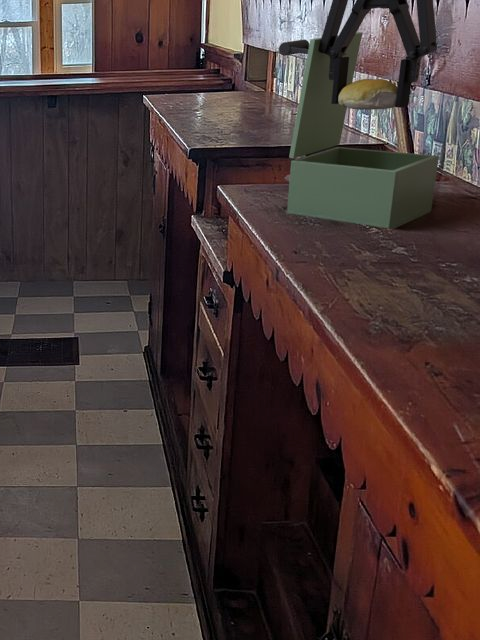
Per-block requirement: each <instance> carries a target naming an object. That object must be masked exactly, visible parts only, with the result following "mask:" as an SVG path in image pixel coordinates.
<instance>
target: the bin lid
mask: <svg viewBox="0 0 480 640" xmlns="http://www.w3.org/2000/svg"><path fill="white" fill-rule="evenodd" d="M338 36H339V34H338ZM338 36H337V38H338ZM362 37H363V32H359V31H357V32H356V34H355V36H354V38H353V39H352V41H351V43H350V45H349V46H348V48H347V50H346V52H345V53H346V55H345V56H343V57H349V64H348V74H347V84H346V86H347V85H349V84H350V83H352V82H354V76H355V72H356V67H357V62H358V56H359V53H360V47H361V42H362ZM321 38H322V37H317V38H311V39H309V41H308V40H307V39H297V40H291V41H285V42H282V43H280V44H279V46H278V53H279V54H280V55H281V56H284V57H285V56H290V55H297V54H300V55H306V62H305V67H304V73H303V77H302V78H303V79H302V83H301V89H300V94H299V100H298V106H297V110H296V116H295V123H294V129H293V134H292V138H291V139H292V140H291V146H290V150H289V156H288V158H289V159H296V158H297V157H300V156H303V155H305V156H306V155H307V156H308V155H311V154H314V153H317V152H321V151H324V150H327V149H331V148H334V147H337V146H339V145H341V139H342V134H343V129H344V125H345V120H346V116H347V110H348V107H343V106H341V105H340V104H339V103H338V104H331V102H332V92H333V81H334V80H330V79H329V70H330V69H329V68H330V57H329V56H328V55H327V54H324V53H320V52H319V50H318V49H319V45H320V42H321ZM336 40H337V39H336Z"/></svg>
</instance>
